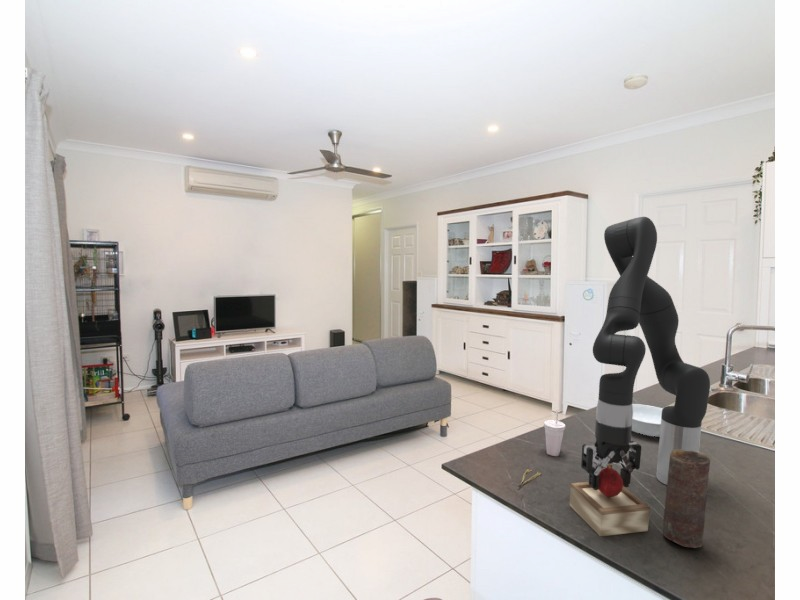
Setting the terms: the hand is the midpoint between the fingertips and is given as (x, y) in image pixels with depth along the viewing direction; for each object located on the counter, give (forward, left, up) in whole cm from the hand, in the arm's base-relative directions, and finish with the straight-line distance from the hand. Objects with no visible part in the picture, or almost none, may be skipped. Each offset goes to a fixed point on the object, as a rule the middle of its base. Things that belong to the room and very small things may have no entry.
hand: (609, 486), depth 102 cm
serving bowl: (-48, -44, -8) cm, 66 cm away
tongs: (+11, -19, -9) cm, 23 cm away
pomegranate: (0, 0, -3) cm, 3 cm away
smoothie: (-5, -33, -8) cm, 34 cm away
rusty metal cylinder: (-11, +10, -8) cm, 17 cm away
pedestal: (0, 0, -8) cm, 8 cm away
